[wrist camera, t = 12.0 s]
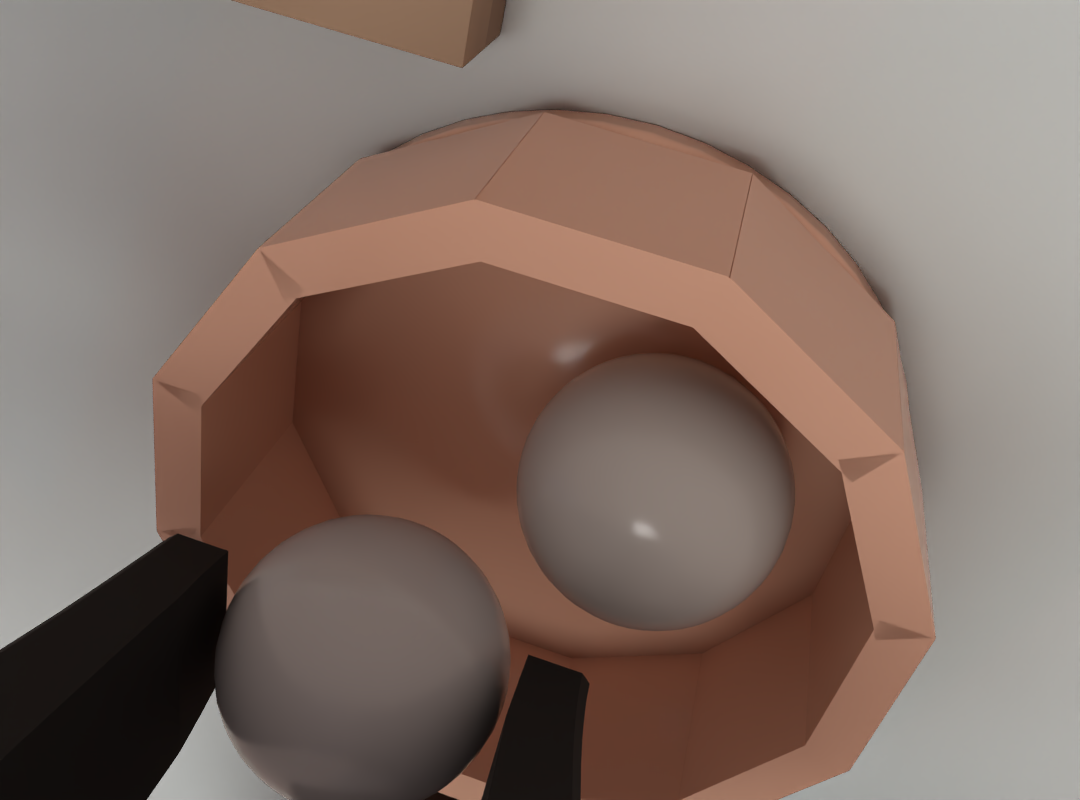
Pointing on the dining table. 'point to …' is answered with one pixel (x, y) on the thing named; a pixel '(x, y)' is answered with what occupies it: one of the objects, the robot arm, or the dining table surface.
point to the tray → (404, 23)
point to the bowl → (531, 382)
